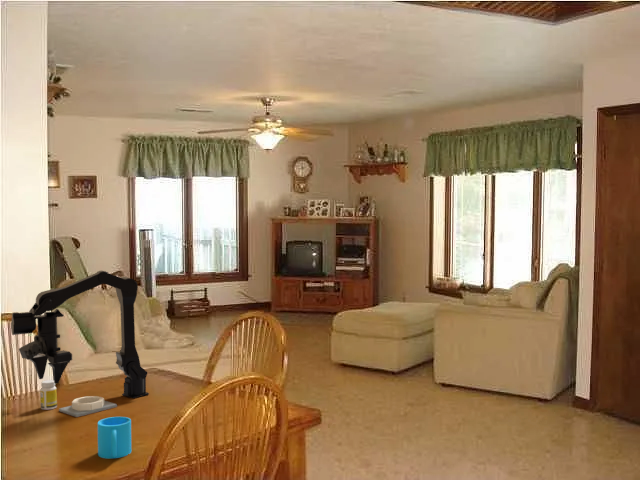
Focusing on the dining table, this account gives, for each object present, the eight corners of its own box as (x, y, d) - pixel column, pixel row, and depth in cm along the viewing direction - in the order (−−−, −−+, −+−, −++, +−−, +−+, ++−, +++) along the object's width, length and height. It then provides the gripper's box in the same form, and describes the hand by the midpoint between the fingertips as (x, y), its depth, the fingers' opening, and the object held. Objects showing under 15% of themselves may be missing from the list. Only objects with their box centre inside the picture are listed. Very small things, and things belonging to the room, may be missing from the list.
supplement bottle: (59, 405, 218) (59, 379, 217) (52, 410, 213) (51, 383, 213) (45, 405, 218) (44, 379, 218) (37, 409, 213) (37, 383, 213)
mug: (98, 449, 177) (98, 418, 177) (131, 446, 180) (131, 415, 179) (96, 465, 166) (95, 432, 166) (131, 462, 168) (130, 429, 168)
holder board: (98, 401, 222) (98, 392, 222) (117, 406, 216) (116, 397, 216) (59, 411, 212) (58, 402, 212) (76, 417, 205) (76, 407, 205)
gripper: (7, 332, 214) (8, 381, 215) (38, 338, 202) (39, 391, 203) (41, 327, 223) (42, 375, 223) (72, 333, 211) (73, 383, 212)
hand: (48, 381), depth 215 cm, fingers open, 9 cm apart
